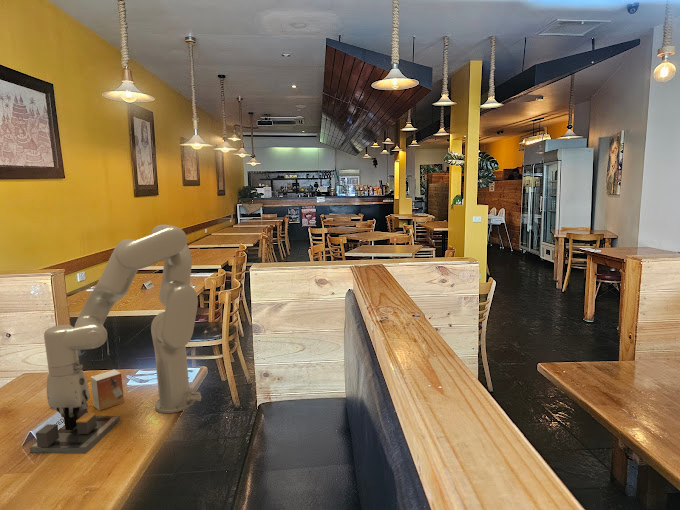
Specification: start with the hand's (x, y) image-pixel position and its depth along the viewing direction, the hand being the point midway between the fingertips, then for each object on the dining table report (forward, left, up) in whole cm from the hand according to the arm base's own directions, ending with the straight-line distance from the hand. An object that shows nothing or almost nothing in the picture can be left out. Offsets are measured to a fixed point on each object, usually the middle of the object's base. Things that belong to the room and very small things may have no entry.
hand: (71, 427), depth 128 cm
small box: (0, -19, -3) cm, 19 cm away
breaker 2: (+2, -7, -1) cm, 7 cm away
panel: (-2, 0, -3) cm, 3 cm away
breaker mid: (-5, 0, -1) cm, 5 cm away
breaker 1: (+2, +6, -1) cm, 7 cm away
